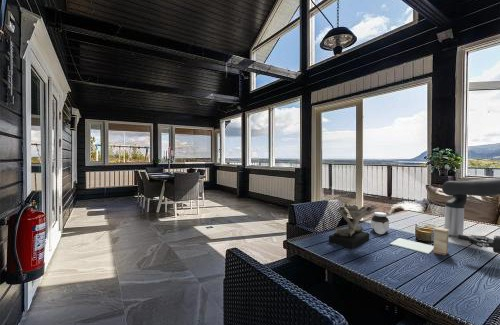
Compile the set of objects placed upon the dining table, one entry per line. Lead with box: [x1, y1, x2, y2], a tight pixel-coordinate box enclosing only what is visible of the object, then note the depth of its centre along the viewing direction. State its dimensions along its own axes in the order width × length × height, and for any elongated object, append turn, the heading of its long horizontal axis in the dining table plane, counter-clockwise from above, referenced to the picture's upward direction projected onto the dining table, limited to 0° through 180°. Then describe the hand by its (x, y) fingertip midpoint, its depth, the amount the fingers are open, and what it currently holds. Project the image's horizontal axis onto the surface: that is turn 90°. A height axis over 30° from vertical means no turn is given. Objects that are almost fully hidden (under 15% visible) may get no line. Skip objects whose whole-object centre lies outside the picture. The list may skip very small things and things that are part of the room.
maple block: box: [432, 226, 450, 256], centre depth 131 cm, size 5×5×12 cm
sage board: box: [389, 237, 434, 255], centre depth 141 cm, size 14×18×1 cm
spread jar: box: [370, 211, 390, 235], centre depth 165 cm, size 12×11×12 cm
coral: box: [328, 203, 378, 250], centre depth 146 cm, size 25×20×22 cm
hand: (458, 236), depth 126 cm, fingers closed
